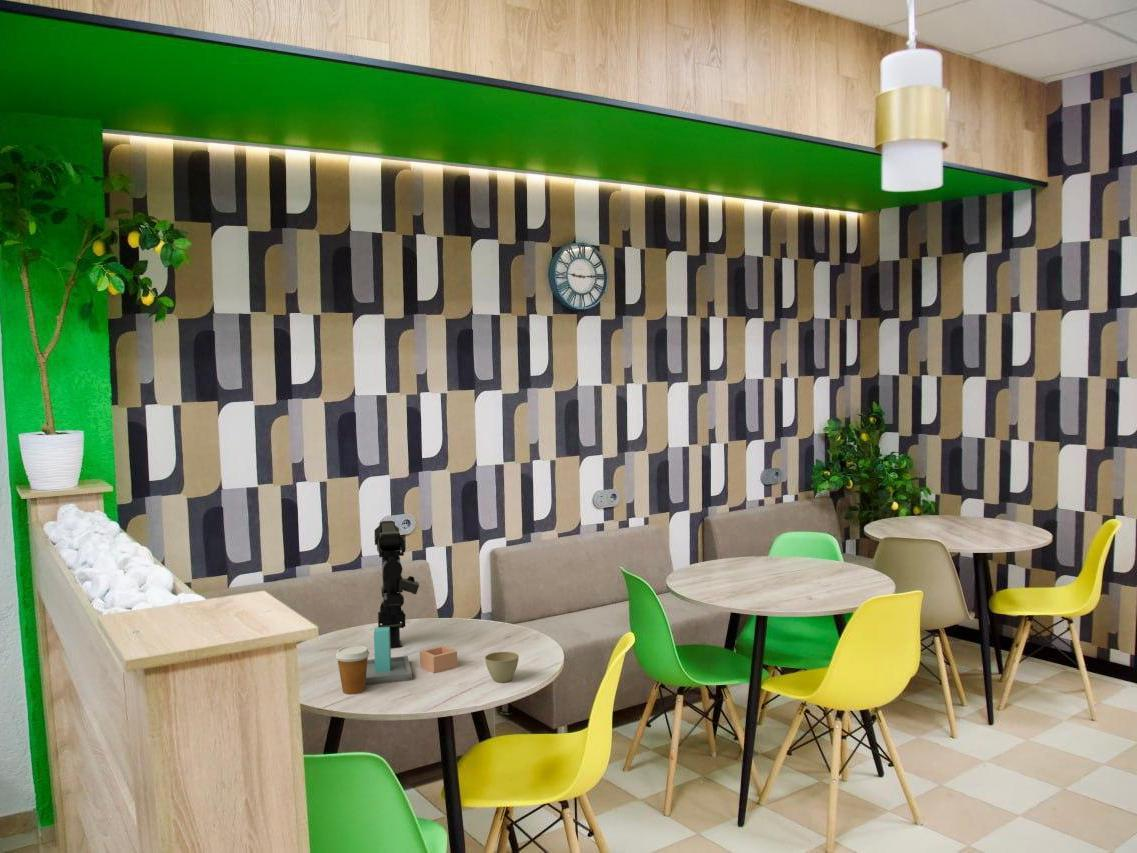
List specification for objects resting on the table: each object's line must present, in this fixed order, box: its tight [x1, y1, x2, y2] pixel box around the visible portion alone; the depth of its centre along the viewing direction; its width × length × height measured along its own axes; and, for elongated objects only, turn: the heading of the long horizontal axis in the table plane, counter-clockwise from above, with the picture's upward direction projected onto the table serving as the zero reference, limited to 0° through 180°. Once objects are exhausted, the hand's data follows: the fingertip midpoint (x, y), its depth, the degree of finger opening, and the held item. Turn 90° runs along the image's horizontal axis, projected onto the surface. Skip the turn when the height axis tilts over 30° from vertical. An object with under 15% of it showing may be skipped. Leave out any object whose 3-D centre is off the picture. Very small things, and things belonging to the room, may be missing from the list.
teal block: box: [373, 627, 392, 672], centre depth 280 cm, size 4×4×12 cm
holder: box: [419, 645, 458, 674], centre depth 285 cm, size 8×8×5 cm
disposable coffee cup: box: [335, 645, 370, 695], centre depth 265 cm, size 10×10×12 cm
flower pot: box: [484, 651, 519, 683], centre depth 271 cm, size 10×10×7 cm
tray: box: [365, 655, 413, 686], centre depth 280 cm, size 18×16×2 cm
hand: (393, 620), depth 292 cm, fingers open, 9 cm apart
